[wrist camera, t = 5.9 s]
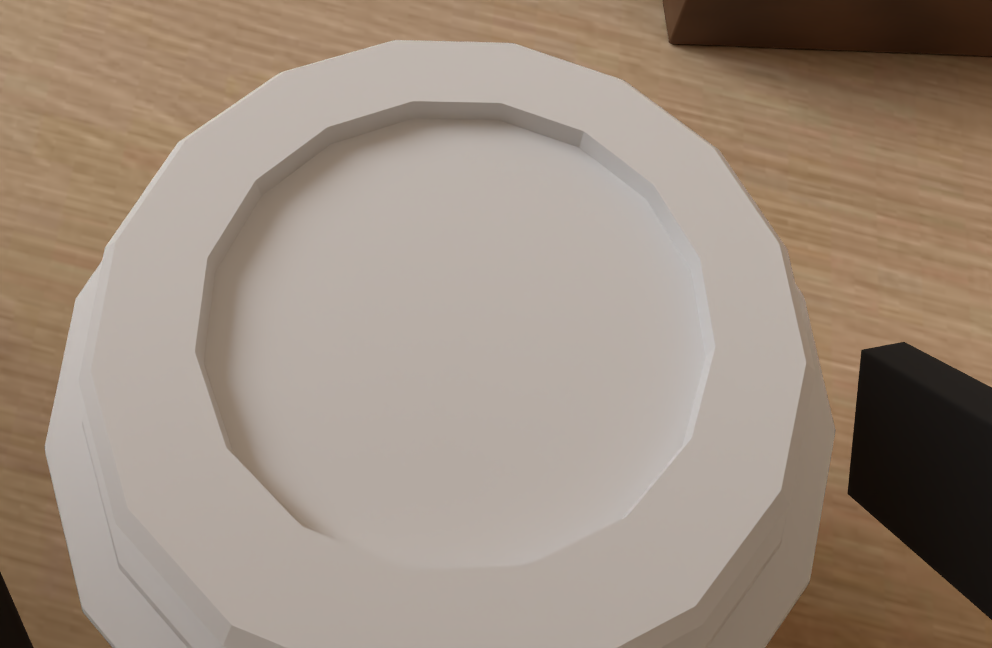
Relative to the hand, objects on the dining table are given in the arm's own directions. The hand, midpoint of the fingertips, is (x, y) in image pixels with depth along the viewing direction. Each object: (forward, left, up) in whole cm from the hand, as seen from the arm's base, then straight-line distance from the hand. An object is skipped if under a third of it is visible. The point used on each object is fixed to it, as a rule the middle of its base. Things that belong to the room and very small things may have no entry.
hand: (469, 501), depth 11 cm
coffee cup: (0, +1, -7) cm, 7 cm away
